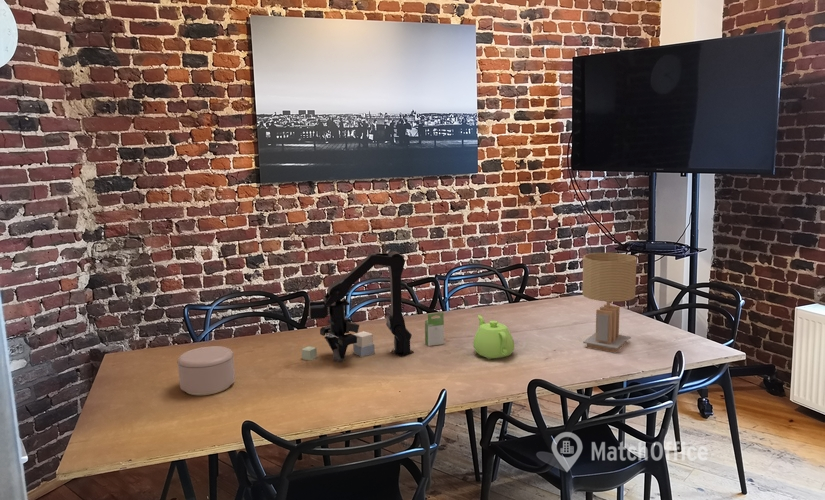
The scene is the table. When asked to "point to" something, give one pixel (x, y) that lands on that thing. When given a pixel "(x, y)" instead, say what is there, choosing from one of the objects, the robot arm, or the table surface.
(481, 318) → the teapot
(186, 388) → the container
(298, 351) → the table surface
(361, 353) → the tower base
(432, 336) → the ink box
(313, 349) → the sage block
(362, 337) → the tower top
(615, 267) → the desk lamp
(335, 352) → the dark grey cylinder
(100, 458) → the table surface
